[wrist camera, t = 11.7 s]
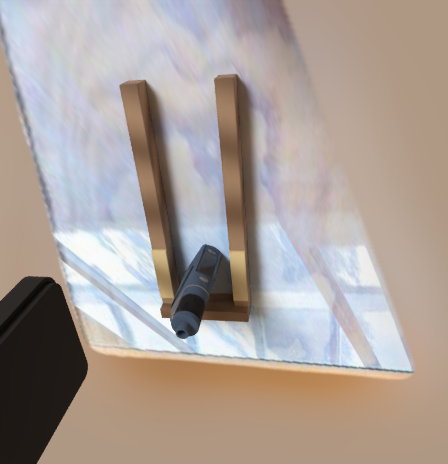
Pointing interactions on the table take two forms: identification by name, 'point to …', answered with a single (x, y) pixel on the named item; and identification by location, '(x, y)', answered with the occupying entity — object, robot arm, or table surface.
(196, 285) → the vaping device
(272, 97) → the table surface
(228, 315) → the rail channel
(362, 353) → the table surface
